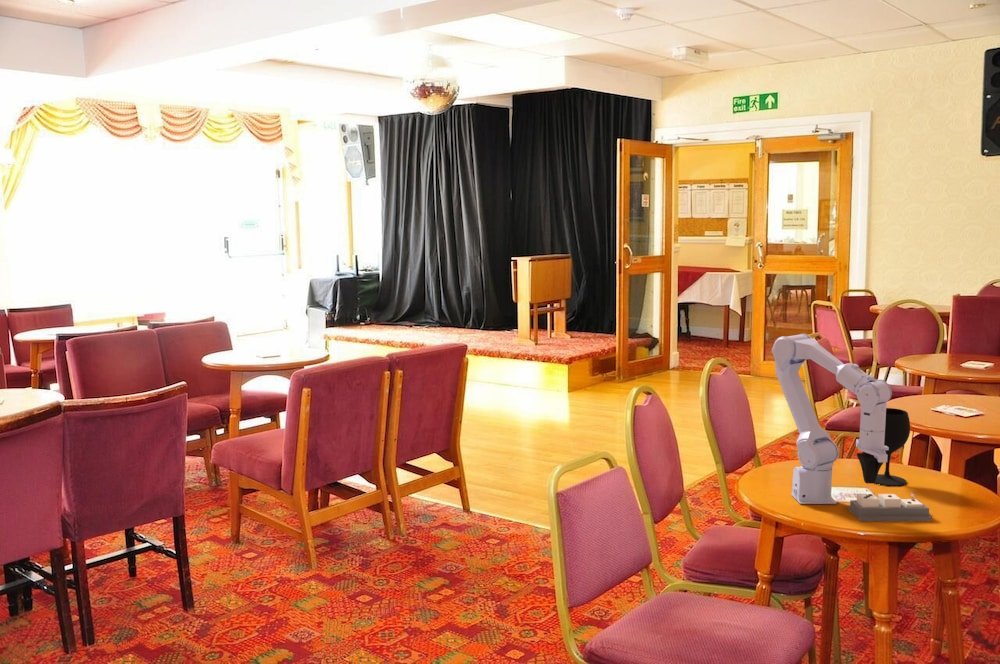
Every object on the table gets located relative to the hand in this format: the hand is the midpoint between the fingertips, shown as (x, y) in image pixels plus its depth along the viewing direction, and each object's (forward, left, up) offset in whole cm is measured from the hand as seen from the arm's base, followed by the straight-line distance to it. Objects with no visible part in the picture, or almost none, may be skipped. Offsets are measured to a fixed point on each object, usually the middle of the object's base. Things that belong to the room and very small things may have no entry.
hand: (869, 482), depth 224 cm
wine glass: (+16, +28, -9) cm, 33 cm away
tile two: (+11, 0, -7) cm, 13 cm away
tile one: (+5, 0, -6) cm, 8 cm away
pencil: (+16, +6, -9) cm, 19 cm away
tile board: (+5, 0, -8) cm, 10 cm away
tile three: (0, 0, -6) cm, 6 cm away
